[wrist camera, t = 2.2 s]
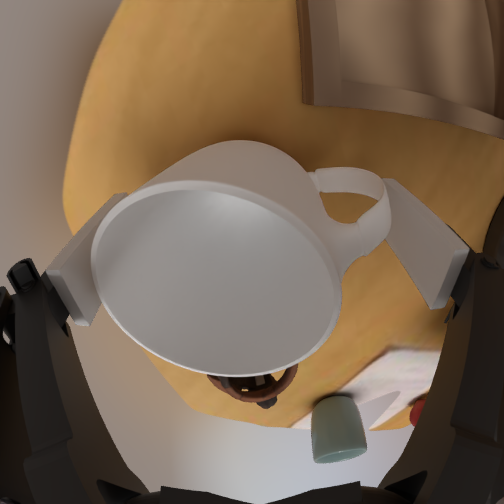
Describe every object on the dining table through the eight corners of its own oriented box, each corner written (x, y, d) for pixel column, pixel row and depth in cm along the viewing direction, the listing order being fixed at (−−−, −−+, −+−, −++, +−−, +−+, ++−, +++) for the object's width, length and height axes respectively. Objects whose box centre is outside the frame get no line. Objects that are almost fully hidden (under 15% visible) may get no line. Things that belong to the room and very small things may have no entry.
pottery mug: (180, 324, 28) (187, 363, 20) (257, 281, 30) (289, 304, 22) (232, 396, 31) (252, 440, 23) (296, 359, 33) (329, 393, 25)
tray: (476, -31, 5) (499, -37, 2) (493, 134, 15) (520, 146, 12) (282, -92, 6) (286, -115, 3) (302, 102, 16) (314, 105, 12)
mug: (221, 255, 22) (174, 386, 12) (168, 156, 18) (53, 242, 8) (365, 212, 19) (427, 342, 9) (328, 93, 15) (406, 93, 5)
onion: (433, 388, 39) (445, 422, 32) (428, 399, 42) (438, 430, 35) (407, 399, 40) (417, 434, 33) (404, 409, 43) (412, 441, 36)
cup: (345, 409, 40) (353, 459, 31) (302, 411, 39) (307, 465, 31) (364, 388, 35) (376, 445, 27) (316, 391, 35) (324, 453, 27)
